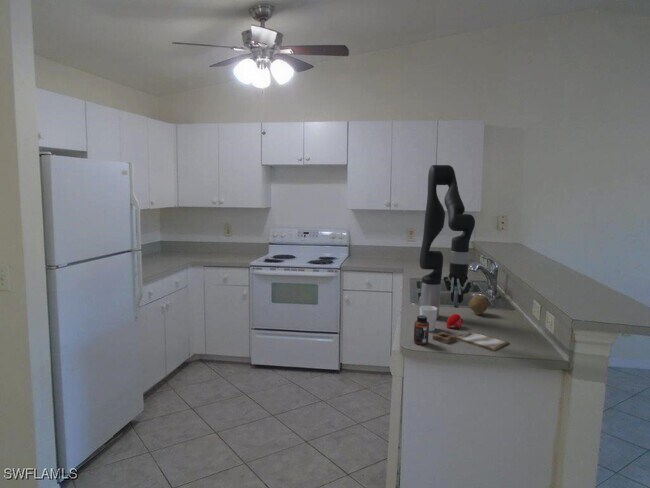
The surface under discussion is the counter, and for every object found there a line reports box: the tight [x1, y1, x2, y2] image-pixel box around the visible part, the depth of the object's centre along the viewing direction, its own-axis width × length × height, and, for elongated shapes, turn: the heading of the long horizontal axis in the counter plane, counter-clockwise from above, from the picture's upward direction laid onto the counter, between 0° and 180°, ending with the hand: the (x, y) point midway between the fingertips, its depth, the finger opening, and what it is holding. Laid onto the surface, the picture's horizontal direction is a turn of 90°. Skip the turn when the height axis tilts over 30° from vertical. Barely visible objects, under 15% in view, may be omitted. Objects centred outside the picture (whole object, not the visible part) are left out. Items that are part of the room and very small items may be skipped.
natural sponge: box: [468, 294, 488, 316], centre depth 225 cm, size 9×9×10 cm
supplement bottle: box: [413, 314, 430, 346], centre depth 182 cm, size 6×6×11 cm
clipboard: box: [456, 330, 510, 352], centre depth 186 cm, size 18×13×1 cm
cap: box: [445, 313, 463, 329], centre depth 204 cm, size 8×6×6 cm
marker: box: [452, 286, 461, 309], centre depth 186 cm, size 3×3×9 cm
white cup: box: [420, 306, 438, 332], centre depth 200 cm, size 8×8×10 cm
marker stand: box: [432, 331, 457, 345], centre depth 187 cm, size 7×7×2 cm
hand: (456, 301), depth 186 cm, fingers closed on marker, 2 cm apart
